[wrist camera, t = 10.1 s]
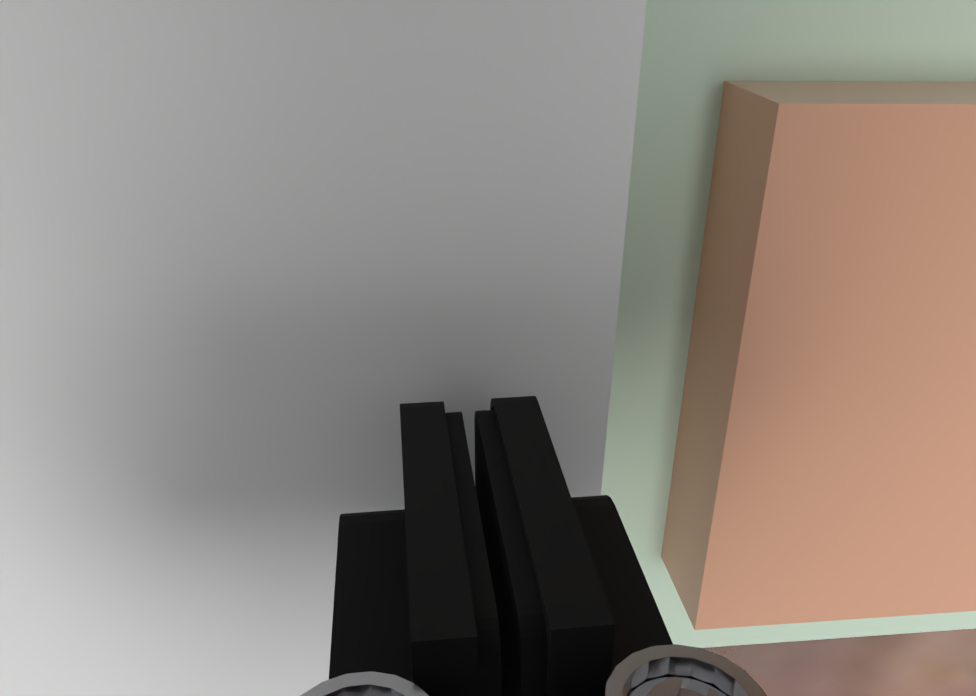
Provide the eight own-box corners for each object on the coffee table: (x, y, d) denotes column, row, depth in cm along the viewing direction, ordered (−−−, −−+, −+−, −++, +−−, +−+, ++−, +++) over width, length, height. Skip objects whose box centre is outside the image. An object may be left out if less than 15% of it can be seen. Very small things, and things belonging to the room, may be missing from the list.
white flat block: (-523, -580, 9) (-1111, -914, 6) (597, -490, 10) (711, -710, 7) (-33, 825, 18) (-132, 1040, 15) (524, 777, 20) (557, 964, 16)
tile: (1193, 105, 12) (1086, 82, 14) (779, 103, 11) (724, 80, 13) (1011, 608, 16) (947, 539, 18) (694, 630, 15) (661, 557, 17)
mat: (623, -285, 11) (631, -292, 11) (1301, -248, 13) (1328, -254, 12) (556, 643, 18) (559, 657, 18) (998, 612, 19) (1010, 625, 19)
